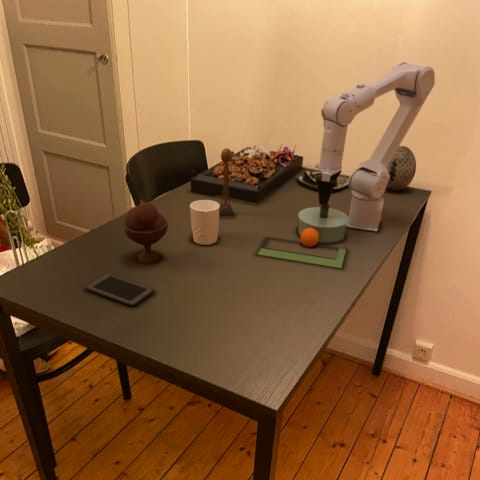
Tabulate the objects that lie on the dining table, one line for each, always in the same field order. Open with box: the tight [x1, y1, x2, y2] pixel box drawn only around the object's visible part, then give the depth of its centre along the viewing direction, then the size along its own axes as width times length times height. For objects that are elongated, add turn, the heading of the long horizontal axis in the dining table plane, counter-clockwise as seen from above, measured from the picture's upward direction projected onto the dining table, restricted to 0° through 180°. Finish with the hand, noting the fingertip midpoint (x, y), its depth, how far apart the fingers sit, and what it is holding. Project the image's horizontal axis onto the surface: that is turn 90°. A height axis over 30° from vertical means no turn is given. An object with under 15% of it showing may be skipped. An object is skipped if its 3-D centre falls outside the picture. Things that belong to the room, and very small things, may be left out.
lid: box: [297, 203, 349, 229], centre depth 132 cm, size 14×14×5 cm
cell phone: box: [85, 273, 153, 307], centre depth 107 cm, size 7×14×1 cm, turn 61°
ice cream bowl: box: [122, 201, 169, 264], centre depth 116 cm, size 11×11×15 cm
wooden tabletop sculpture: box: [219, 147, 235, 217], centre depth 140 cm, size 6×5×20 cm
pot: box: [297, 219, 347, 244], centre depth 134 cm, size 13×13×5 cm
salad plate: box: [294, 170, 349, 193], centre depth 171 cm, size 19×18×5 cm
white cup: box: [189, 199, 221, 246], centre depth 127 cm, size 8×8×10 cm
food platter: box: [190, 143, 304, 204], centre depth 170 cm, size 45×25×10 cm, turn 155°
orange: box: [299, 228, 319, 248], centre depth 127 cm, size 5×5×5 cm
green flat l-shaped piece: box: [256, 246, 347, 270], centre depth 125 cm, size 22×11×1 cm, turn 73°
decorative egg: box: [386, 145, 417, 192], centre depth 164 cm, size 12×12×15 cm
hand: (325, 199), depth 129 cm, fingers open, 7 cm apart
